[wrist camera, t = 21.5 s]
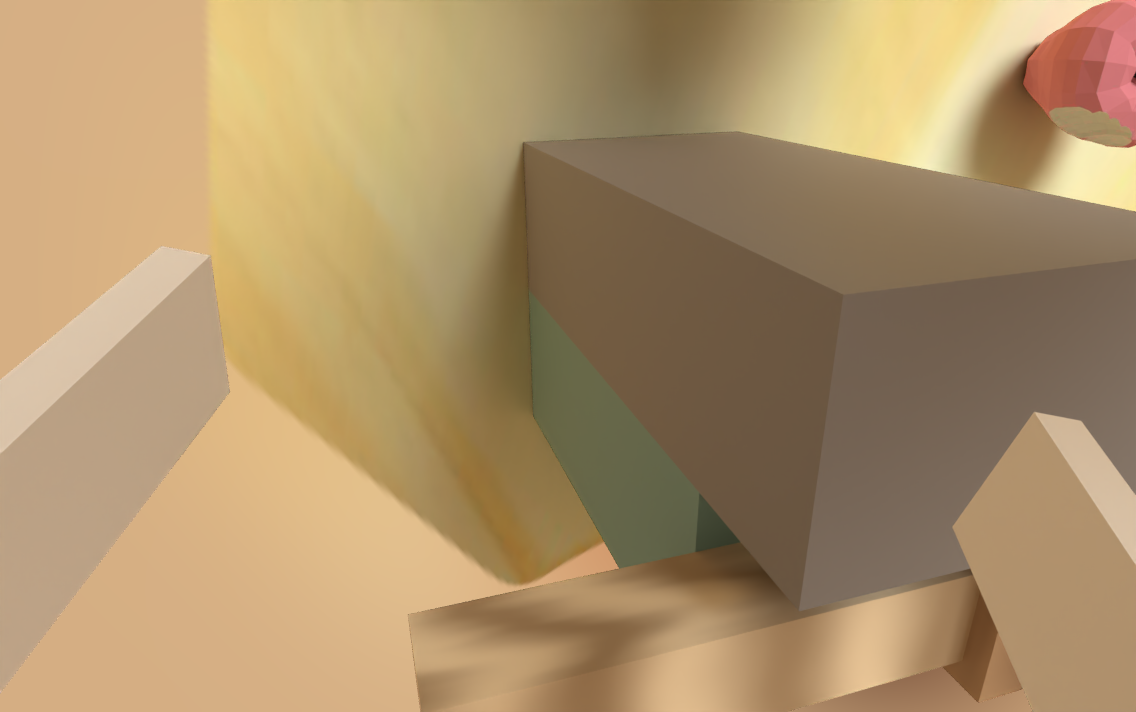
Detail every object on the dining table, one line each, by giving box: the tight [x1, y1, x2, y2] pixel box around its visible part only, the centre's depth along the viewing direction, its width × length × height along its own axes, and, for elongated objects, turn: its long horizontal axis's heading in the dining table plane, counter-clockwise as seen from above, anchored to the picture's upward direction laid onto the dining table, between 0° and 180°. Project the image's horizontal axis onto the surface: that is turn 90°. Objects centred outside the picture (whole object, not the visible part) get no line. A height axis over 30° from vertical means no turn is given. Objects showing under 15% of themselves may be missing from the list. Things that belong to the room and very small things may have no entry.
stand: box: [523, 132, 1136, 611], centre depth 35 cm, size 14×18×30 cm
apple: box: [1023, 0, 1136, 148], centre depth 47 cm, size 10×9×10 cm
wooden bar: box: [408, 542, 1022, 712], centre depth 25 cm, size 23×6×5 cm, turn 90°
